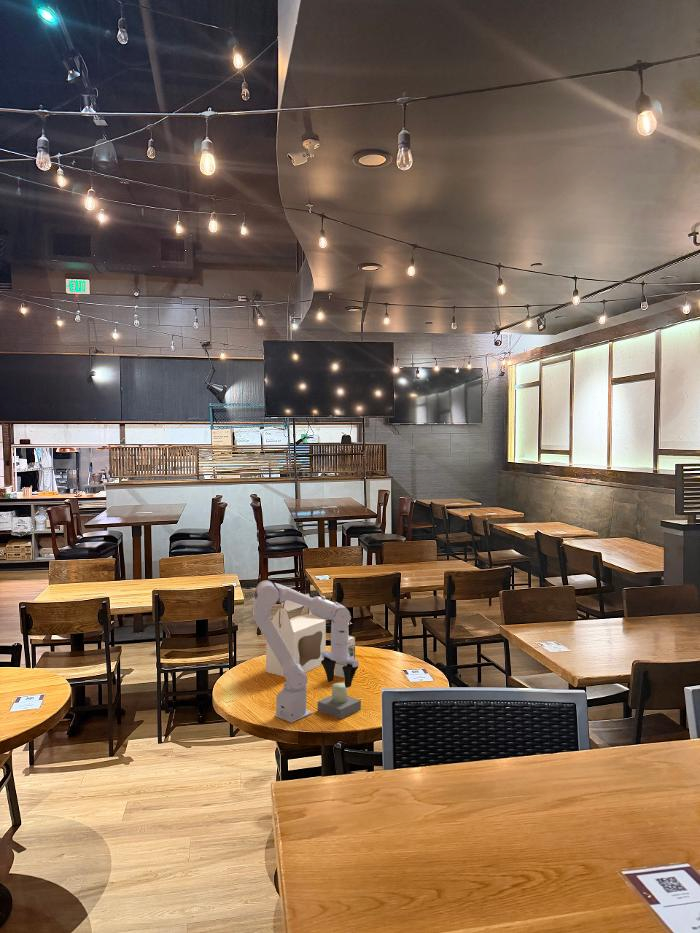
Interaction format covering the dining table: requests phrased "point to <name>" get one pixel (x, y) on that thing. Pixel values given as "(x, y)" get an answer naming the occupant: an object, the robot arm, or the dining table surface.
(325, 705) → the charcoal plinth
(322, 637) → the gable box
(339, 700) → the green cylinder
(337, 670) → the syrup box
